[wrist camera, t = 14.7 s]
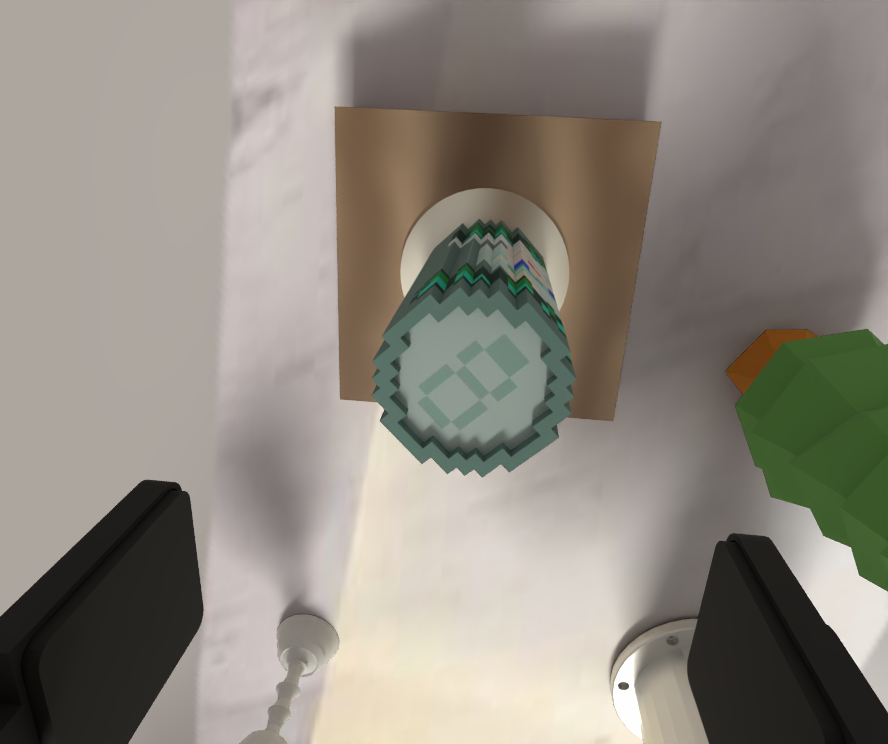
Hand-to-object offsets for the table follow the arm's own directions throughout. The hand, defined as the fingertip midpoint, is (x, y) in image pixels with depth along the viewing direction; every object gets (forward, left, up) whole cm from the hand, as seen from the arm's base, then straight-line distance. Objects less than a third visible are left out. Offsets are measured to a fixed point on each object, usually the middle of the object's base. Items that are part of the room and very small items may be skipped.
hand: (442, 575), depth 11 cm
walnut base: (0, 0, -28) cm, 28 cm away
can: (0, 0, -24) cm, 24 cm away
